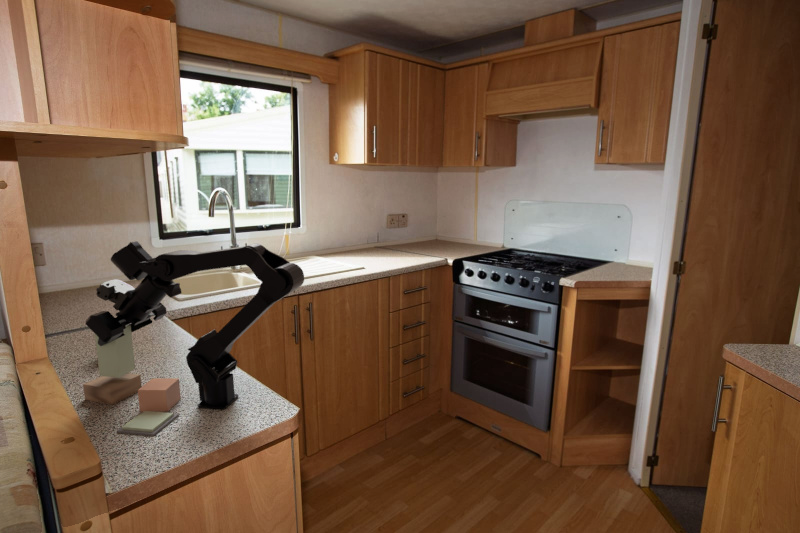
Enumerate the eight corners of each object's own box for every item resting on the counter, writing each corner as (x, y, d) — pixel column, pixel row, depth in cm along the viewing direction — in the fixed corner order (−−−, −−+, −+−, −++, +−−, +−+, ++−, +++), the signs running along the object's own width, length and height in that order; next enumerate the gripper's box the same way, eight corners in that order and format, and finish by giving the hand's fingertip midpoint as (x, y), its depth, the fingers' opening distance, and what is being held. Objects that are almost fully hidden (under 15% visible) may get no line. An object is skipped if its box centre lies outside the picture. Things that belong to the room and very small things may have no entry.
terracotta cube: (180, 399, 107) (178, 378, 106) (167, 411, 101) (165, 390, 101) (154, 399, 107) (152, 378, 107) (139, 411, 102) (137, 390, 101)
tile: (178, 415, 99) (178, 411, 99) (153, 435, 92) (153, 431, 92) (144, 413, 101) (144, 409, 101) (116, 432, 93) (116, 428, 93)
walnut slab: (142, 390, 112) (140, 374, 111) (112, 405, 105) (110, 388, 104) (116, 386, 115) (114, 370, 114) (85, 400, 107) (83, 384, 106)
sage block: (135, 368, 110) (130, 325, 108) (119, 377, 106) (114, 332, 104) (116, 367, 111) (111, 324, 109) (99, 376, 106) (94, 331, 104)
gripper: (150, 261, 112) (114, 304, 116) (88, 277, 94) (47, 327, 98) (183, 294, 113) (146, 336, 116) (127, 317, 95) (85, 366, 98)
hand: (108, 340), depth 107 cm, fingers closed on sage block, 5 cm apart
